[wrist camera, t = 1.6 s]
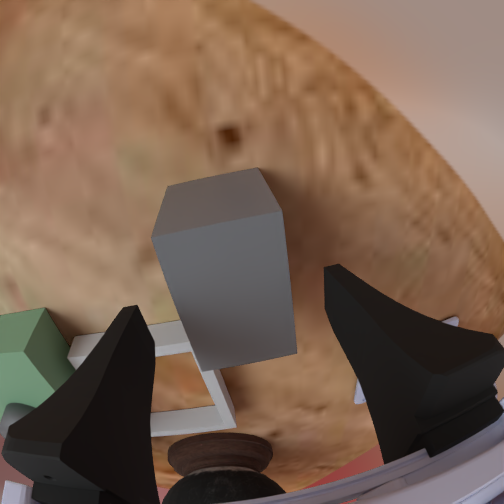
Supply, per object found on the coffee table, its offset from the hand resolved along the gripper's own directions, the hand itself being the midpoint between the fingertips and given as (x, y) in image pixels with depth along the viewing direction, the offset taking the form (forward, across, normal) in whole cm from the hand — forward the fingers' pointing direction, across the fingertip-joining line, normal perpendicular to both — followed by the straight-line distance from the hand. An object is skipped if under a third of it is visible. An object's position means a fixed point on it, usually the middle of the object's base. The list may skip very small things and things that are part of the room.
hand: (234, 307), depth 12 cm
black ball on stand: (+6, +6, +25) cm, 26 cm away
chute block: (+6, 0, 0) cm, 6 cm away
